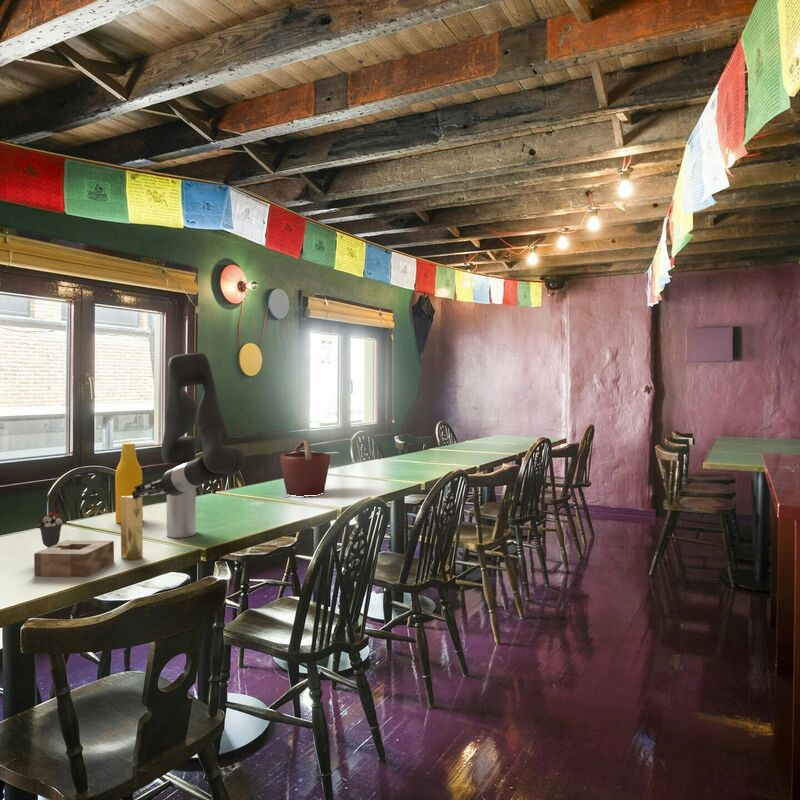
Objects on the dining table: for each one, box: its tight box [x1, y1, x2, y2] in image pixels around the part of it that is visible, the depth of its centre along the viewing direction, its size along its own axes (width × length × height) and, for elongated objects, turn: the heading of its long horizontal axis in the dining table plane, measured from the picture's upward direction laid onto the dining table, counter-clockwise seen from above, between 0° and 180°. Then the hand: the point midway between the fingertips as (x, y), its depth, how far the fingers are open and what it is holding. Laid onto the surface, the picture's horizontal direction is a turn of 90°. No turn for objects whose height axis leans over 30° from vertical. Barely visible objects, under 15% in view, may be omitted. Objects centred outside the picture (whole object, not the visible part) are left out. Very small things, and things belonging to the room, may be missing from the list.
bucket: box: [279, 439, 331, 496], centre depth 284 cm, size 24×22×25 cm
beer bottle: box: [114, 442, 144, 524], centre depth 226 cm, size 9×9×29 cm
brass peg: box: [120, 496, 144, 561], centre depth 178 cm, size 4×6×18 cm
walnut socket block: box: [33, 539, 115, 578], centre depth 168 cm, size 14×14×6 cm
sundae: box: [36, 506, 64, 548], centre depth 177 cm, size 7×7×15 cm
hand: (146, 494), depth 176 cm, fingers open, 8 cm apart
